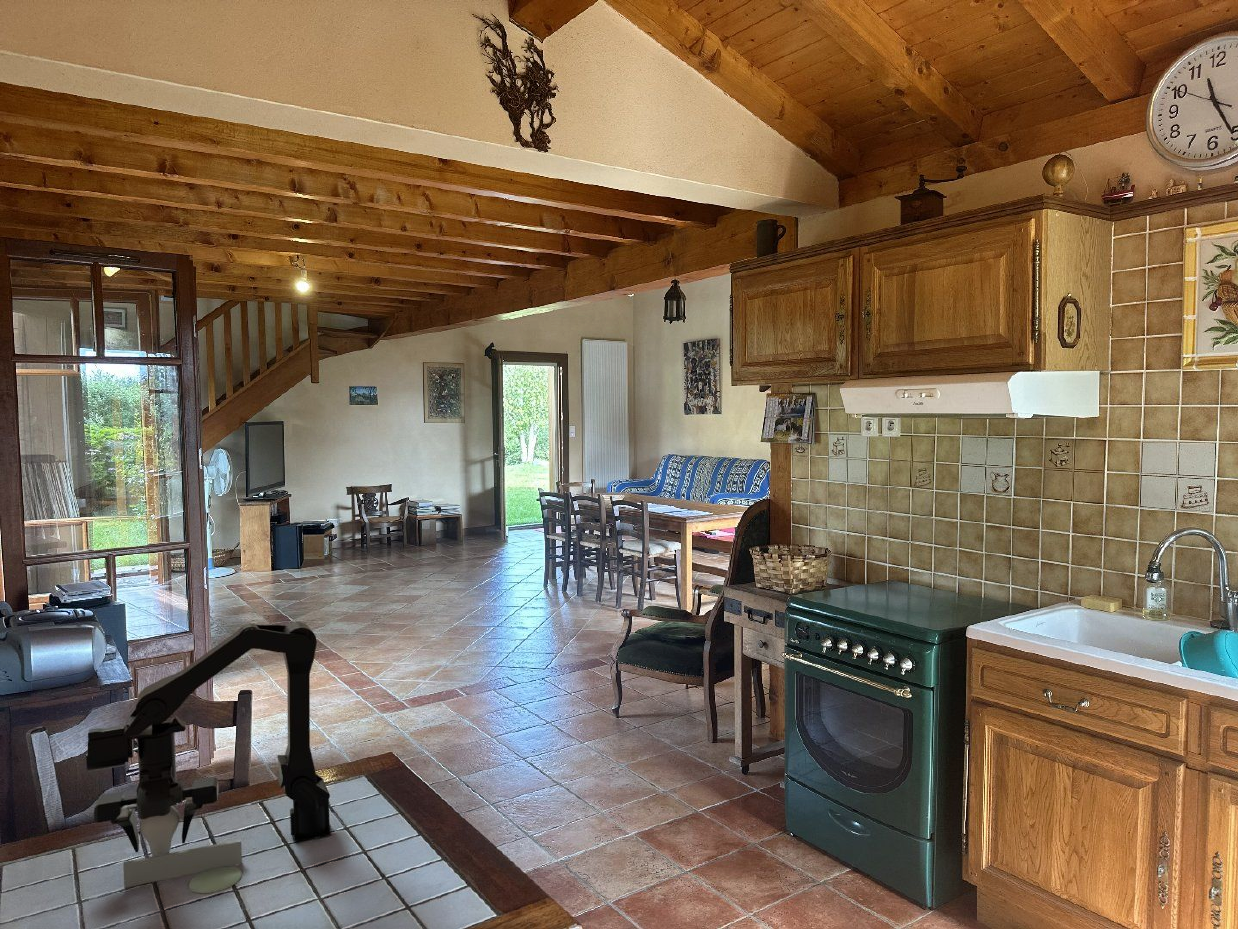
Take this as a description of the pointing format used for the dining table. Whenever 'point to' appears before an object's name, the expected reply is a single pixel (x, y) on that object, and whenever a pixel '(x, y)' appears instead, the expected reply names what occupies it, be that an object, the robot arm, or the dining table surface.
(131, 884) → the grey-green flat bar
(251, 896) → the dining table surface
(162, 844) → the lightbulb
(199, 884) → the pad
